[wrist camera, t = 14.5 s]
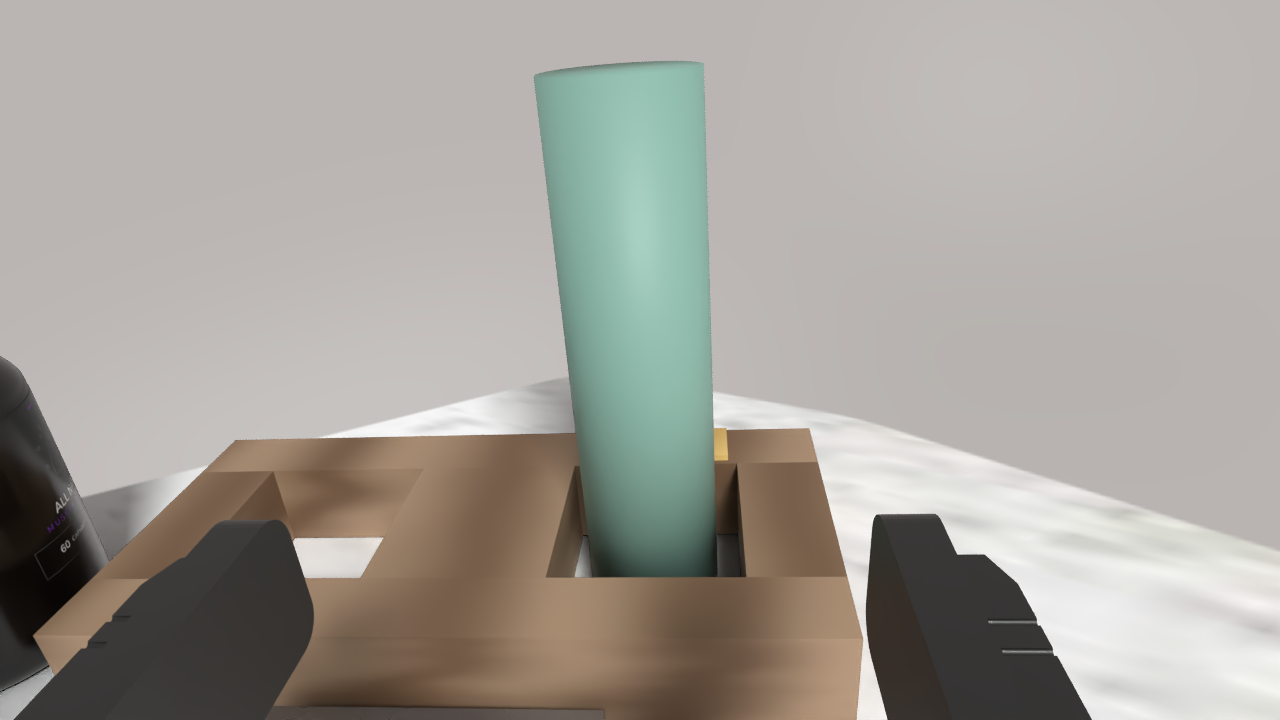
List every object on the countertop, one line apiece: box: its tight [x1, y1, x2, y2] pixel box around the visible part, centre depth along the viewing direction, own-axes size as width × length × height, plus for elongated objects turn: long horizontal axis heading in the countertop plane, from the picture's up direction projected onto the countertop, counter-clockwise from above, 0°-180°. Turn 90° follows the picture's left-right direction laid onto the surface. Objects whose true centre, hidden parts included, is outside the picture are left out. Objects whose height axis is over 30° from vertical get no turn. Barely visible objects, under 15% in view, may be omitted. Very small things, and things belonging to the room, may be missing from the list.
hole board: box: [33, 428, 863, 720], centre depth 25 cm, size 22×10×3 cm, turn 86°
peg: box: [534, 61, 718, 578], centre depth 21 cm, size 4×4×16 cm
